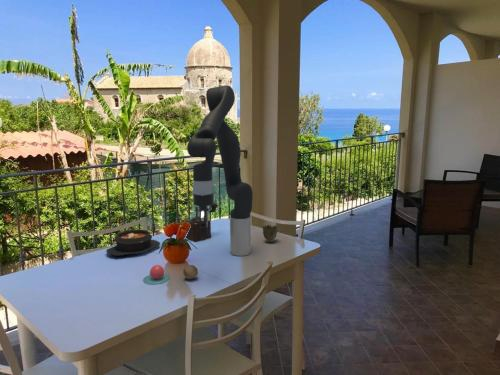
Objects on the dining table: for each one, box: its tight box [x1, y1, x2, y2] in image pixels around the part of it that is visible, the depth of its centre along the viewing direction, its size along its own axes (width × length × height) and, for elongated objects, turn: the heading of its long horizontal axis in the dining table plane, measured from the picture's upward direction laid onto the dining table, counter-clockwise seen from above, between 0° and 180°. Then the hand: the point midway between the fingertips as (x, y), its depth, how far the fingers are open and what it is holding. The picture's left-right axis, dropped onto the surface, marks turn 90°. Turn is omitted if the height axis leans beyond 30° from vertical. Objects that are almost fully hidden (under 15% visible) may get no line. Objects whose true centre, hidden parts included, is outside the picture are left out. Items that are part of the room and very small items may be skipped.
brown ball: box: [183, 264, 199, 281], centre depth 149 cm, size 6×6×6 cm
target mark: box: [142, 273, 170, 286], centre depth 149 cm, size 10×10×1 cm
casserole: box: [105, 229, 161, 257], centre depth 180 cm, size 25×19×8 cm
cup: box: [262, 224, 278, 244], centre depth 192 cm, size 8×7×8 cm
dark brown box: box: [183, 202, 219, 243], centre depth 200 cm, size 16×11×18 cm
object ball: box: [149, 264, 165, 280], centre depth 149 cm, size 6×6×6 cm
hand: (204, 236), depth 147 cm, fingers closed
